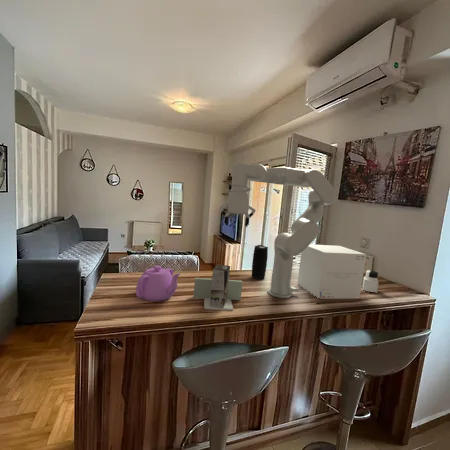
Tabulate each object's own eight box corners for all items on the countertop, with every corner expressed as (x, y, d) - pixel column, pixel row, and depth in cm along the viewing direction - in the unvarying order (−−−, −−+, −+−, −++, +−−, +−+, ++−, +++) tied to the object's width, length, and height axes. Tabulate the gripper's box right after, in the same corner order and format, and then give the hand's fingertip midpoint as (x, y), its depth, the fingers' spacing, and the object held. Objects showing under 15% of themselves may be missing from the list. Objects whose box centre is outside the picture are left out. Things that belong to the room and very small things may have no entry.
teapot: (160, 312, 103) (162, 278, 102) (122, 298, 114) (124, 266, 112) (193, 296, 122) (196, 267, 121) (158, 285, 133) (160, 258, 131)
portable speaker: (251, 279, 156) (255, 246, 154) (250, 274, 165) (253, 244, 163) (266, 280, 156) (269, 248, 154) (264, 275, 165) (267, 245, 163)
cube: (317, 299, 135) (324, 252, 132) (297, 284, 155) (302, 243, 153) (359, 299, 141) (366, 254, 138) (334, 285, 161) (339, 245, 159)
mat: (230, 301, 121) (230, 299, 121) (232, 310, 111) (233, 308, 111) (204, 299, 120) (204, 297, 120) (204, 309, 110) (204, 307, 110)
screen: (240, 299, 124) (242, 280, 123) (240, 300, 123) (242, 281, 122) (193, 296, 122) (194, 277, 121) (193, 297, 121) (194, 278, 120)
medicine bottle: (375, 290, 157) (378, 270, 155) (376, 294, 150) (380, 273, 149) (362, 287, 160) (365, 268, 158) (362, 291, 153) (365, 271, 152)
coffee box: (224, 308, 111) (227, 271, 109) (209, 306, 112) (212, 268, 110) (227, 300, 120) (230, 265, 118) (213, 298, 121) (216, 263, 119)
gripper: (255, 191, 130) (252, 225, 132) (220, 188, 128) (217, 223, 130) (258, 191, 123) (255, 227, 125) (221, 188, 121) (219, 225, 123)
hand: (236, 225), depth 127 cm, fingers open, 9 cm apart
